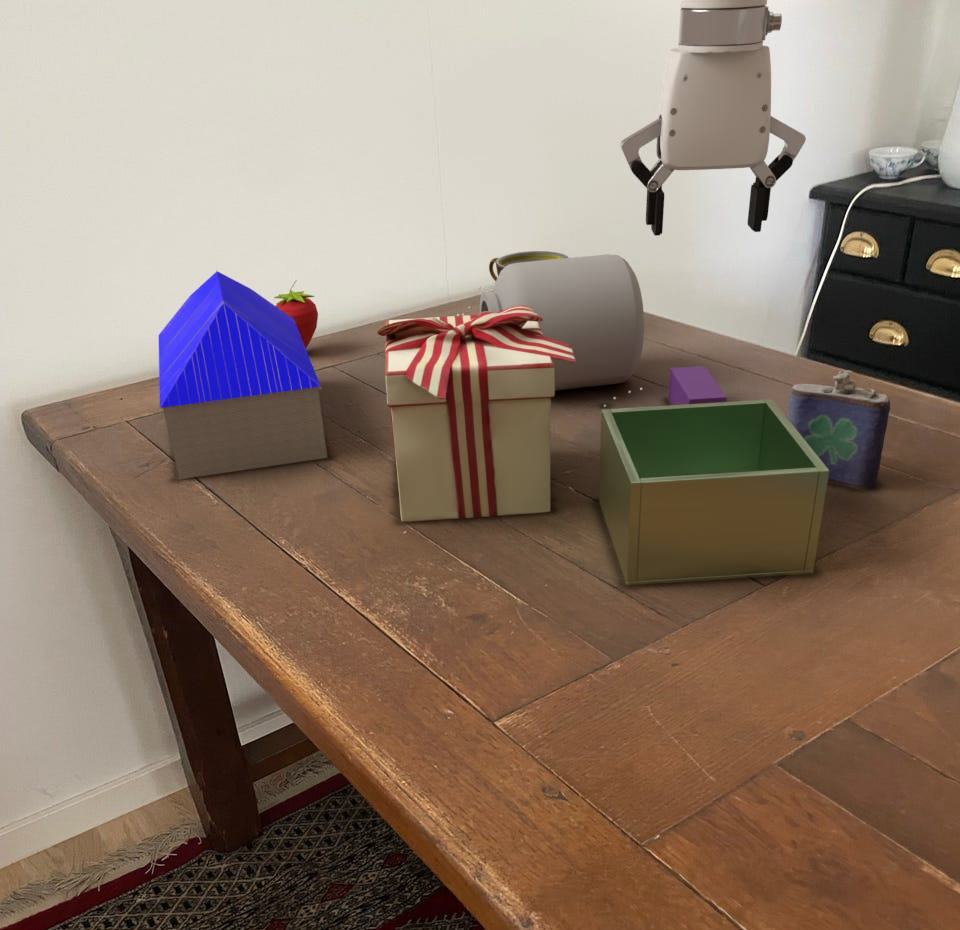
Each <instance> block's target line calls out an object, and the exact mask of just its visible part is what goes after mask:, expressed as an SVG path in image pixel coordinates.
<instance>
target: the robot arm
mask: <svg viewBox="0 0 960 930" xmlns="http://www.w3.org/2000/svg"><path fill="white" fill-rule="evenodd" d="M767 4H768V0H680V13H679V28H678V29H679V30H678V42H677V43H678V45H677V48H670V49H668V53H667V57H666V62H665V66H664V72H663V78H662V83H661V84H662V85H661V90H660V91H661V92H660V99H659V109H658V116H657V117H658V118H656V119H655V120H653V121H652V122H650V123H648V124H647V125H645V126H643V127H642V128H641V129H639V130H637V131H635V132H634V133H632V134H630V135H628V136H627V137H625V138H624V139H622V140H621V141H620V145H619V146H620V148H621V151H622V153H623V156H624V158H625V160H626V162H627V164H628V167H629V169H630V171H631V173H632V174H633V175H634V176H635V177H636V178H637V179H638V181H640V183H641V184H642V185H643V186H644V187H645V188H646V205H645V224H646V226H650V228H651V232H652V234H653V235H654V236H655V237H656V236H661V235H662V234H663V226H664V213H665V211H664V210H665V191H663V184H665V182H666V181H667V180H668V178H669V177H670V176H671V175H672V174H673V172H674V171H702V170H704V171H705V170H707V171H708V170H726V169H727V170H729V169H730V170H731V169H746V168H749V169H750V170H751V173H753V175H754V176H755V179H754V180H755V181H754V182H752V183H753V184H751V186H750V192H749V193H750V194H749V195H750V196H749V202H748V203H749V205H748V213H747V214H748V215H747V226H748V227H749V228H750V229H751V230H752V231H753V232H754V233H760V232H761V231H762V223H763V222H766V221H767V220H768V217H769V208H770V199H771V192H772V191H771V190H772V188H774V187H775V185H776V184H777V181H778V180H779V179H781V177H782V176H783V175H784V174H785V173H786V172H788V170H789V169H791V167H792V166H793V165H794V164H793V162H794V160H795V159H796V158H797V156H798V155H799V153H800V151H801V150H802V148H803V146H804V145H805V143H806V141H807V140H806V139H807V138H806V135H805V134H803V133H802V132H800V131H799V130H797V129H795V128H794V127H791V126H790V125H788V124H786V123H785V122H783V121H781V120H779V119H777V118H775V117H774V116H772V113H771V112H772V63H771V52H770V46H768V45H764V41H766V36H768V34H771V33H772V32H778V31H781V28H782V23H783V21H782V20H783V16H782V13H774V11H770V9H769V6H767ZM770 134H772V135H773V136H775V137H777V138H779V139H780V140H783V142H784V145H783V147H782V149H781V152H780V153H779V154H778V155H777V156H776V157H775V158H774V159H773V160H772V161H771V162H770V163H769V164H767V163H766V161H765V160H766V158H767V155H768V151H769V143H770ZM655 139H656V141H655V144H656V145H655V149H656V150H655V152H656V157H657V158H658V160H657V161H656V163H655V164H654V165H653V167H651V169H649V167H647V166H646V165H645V164H644V162H643V161H642V158H641V156H640V154H639V151H640V149H641V148H642V147H644V146H646V145H647V144H649V143H650V142H652V141H654V140H655Z"/></svg>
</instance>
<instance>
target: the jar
mask: <svg viewBox="0 0 960 930" xmlns="http://www.w3.org/2000/svg"><path fill="white" fill-rule="evenodd" d="M481 288H482V286H481V285H479V286H478V289H481ZM642 296H643V295H642V291H641V287H640V283H639V280H638V277H637V275H636V273H635V272H634V270H633V268H632V267H631V265H630V263H629V262H628V260H626V259H625V258H623V257H622V256H620V255H618V254H596V255H585V256H576V257H570V258H563V259H552V260H541V261H530V262H519V263H513V264H509V265H507V266H506V267H505V268H504V269H503V270H501V272H500V274H499V276H498V275H497V280H496V281H494V287H493V291H483V292H481V295H480V299H479V314H480V313H482V312H487V311H488V312H493V313H497V312H500V311H502V310H505V309H507V308H510V307H513V306H519V305H525V306H528V307H530V308H531V309H532V310H533V311H534V312H535V313H536V314H538V315H539V316H540V317H541V318H542V319H543V320H542V321H541V322H538V323H539V326H540V329H541V331H542V334H543V336H544V337H547V338H551V339H554V340H557V341H560V342H563V343H566V344H569V345H570V347H571V349H572V351H573V355H574V357H575V359H576V362H571V361H565V360H558V359H553V364H554V378H555V392H556V391H565V390H573V389H582V388H590V387H591V388H592V387H601V386H609V385H618V384H622V383H625V382H626V381H628V380H629V378H631V377H632V376H633V374H634V373H635V371H636V369H637V367H638V365H639V363H640V361H641V357H642V353H643V347H644V339H645V337H644V336H645V314H644V303H643V298H642ZM471 308H472V307H471V306H468V310H471ZM456 316H465V313H462V315H461V314H460V313H457V314H456ZM639 391H643V387H640V388H639ZM631 393H632V391H631V390H628V394H631ZM616 399H617V397H616V396H613V400H616ZM603 407H604V408H606V407H607V404H604V405H603Z"/></svg>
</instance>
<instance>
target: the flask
mask: <svg viewBox="0 0 960 930" xmlns="http://www.w3.org/2000/svg"><path fill="white" fill-rule="evenodd" d="M851 374H853V371H852V370H843V371H841V370H839V371H838V374H837V375H833V377H832V378H833V380H834V384H835V385H834V386H831V385H830V386H829V385H822V384H814V383H797V384H795V385H793V386H792V387H791V388H790V391H789V403H788V412H787V416H786V417H787V419H788V420H789V421H790V422H791V424H792V425H793V426H794V427H795V428H796V430H797V431H798V432H799V433H800V435H801V436H802V437H803V438H804V440H805V441H806V442H807V443H808V445H809V446H810V447H811V448H812V450H813V451H814V452H815V453H816V455H817V456H818V457H819V458H820V460H821V461H822V462H823V463H824V465H825V466H826V467H827V468H828V470H829V476H828V482H827V483H832V484H837V485H841V486H845V487H849V488H853V489H856V490H864V491H866V490H867V491H868V490H872V489H874V488H875V487H876V484H877V481H878V476H879V472H880V468H881V467H880V466H881V461H882V454H883V450H884V443H885V437H886V432H887V428H888V421H889V414H890V410H891V402H890V398H889V397H888V395H886V394H883V393H878V392H877V391H876V390H875V389H872V388H866V390H865V389H864V388H862V387H858V385H857V384H856V383H855V381H851V380H850V376H851Z"/></svg>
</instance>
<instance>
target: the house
mask: <svg viewBox="0 0 960 930" xmlns="http://www.w3.org/2000/svg"><path fill="white" fill-rule="evenodd" d="M158 376H159V377H158V383H159V384H158V385H159V387H158V388H159V389H158V390H159V392H158V393H159V394H158V395H159V411H160V412H162V410H163V414H164V418H165V424H166V427H167V432H168V437H169V440H170V446H171V449H172V454H173V458H174V459H173V460H174V462H175V463H174V464H175V467H176V471H177V476H178V480H185V479H192V478H198V477H205V476H212V475H219V474H227V473H232V472H239V471H247V470H253V469H254V470H255V469H259V468H268V467H274V466H280V465H281V466H282V465H288V464H294V463H301V462H306V461H307V462H308V461H314V460H322V459H327V458H328V452H327V443H326V438H325V437H326V436H325V429H324V423H323V414H322V408H321V401H320V392H319V390H322V385H321V384H320V381H319V378H318V376H317V373H316V371H315V369H314V365H313V363H312V361H311V359H310V356H309V354H308V351H307V348H305V346H304V344H303V341H302V339H301V336H300V334H299V331H298V329H297V326H296V324H295V321H294V319H293V318H292V317H290V316H289V315H287V314H286V313H284V312H283V311H282V310H280V309H279V308H277V307H276V305H274V303H272V302H270V301H269V300H267V299H266V298H265V297H263V296H262V295H261V294H259V293H257V292H256V291H255V290H254V289H252V288H250V287H249V286H246V285H244V284H243V283H241V282H239V281H237V280H235V279H233V278H231V277H229V276H227V275H226V274H225V273H224V274H223V273H221V272H220V271H218V270H216V271H215V272H214V273H213V274H212V275H211V276H210V277H209V278H208V279H206V280H205V281H204V282H203V283H202V284H201V285H200V286H199V287H197V288H196V290H195V291H193V292H192V293H191V294H190V295H189V296H188V298H187V299H186V300H185V301H184V302H183V304H182V305H181V306H180V307H179V309H178V310H177V312H176V313H175V314H174V315H173V316H172V317H171V319H170V320H169V321H168V322H167V324H166V325H165V327H163V329H162V330H161V331H160V332H159V334H158Z"/></svg>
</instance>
